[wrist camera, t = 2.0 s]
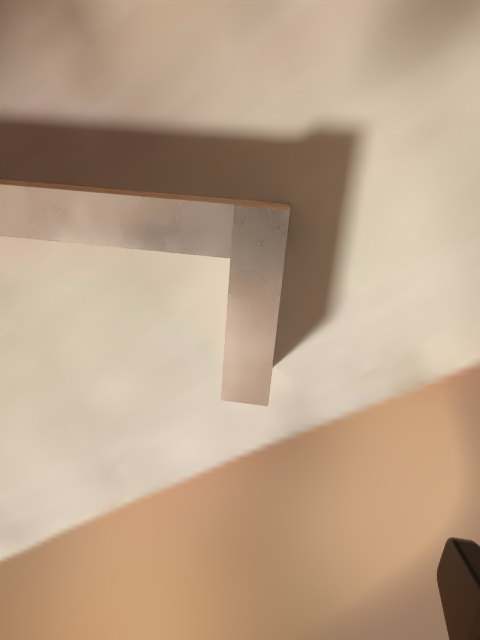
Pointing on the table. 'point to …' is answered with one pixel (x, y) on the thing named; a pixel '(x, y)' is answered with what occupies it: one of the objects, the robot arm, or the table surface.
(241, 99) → the table surface
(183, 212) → the pale grey angled bracket
